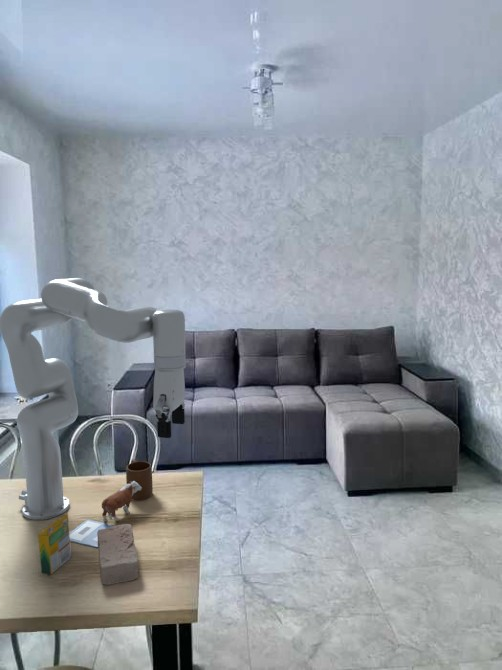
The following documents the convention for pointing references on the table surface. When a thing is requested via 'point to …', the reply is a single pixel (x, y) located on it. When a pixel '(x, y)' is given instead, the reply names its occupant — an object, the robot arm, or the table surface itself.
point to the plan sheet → (87, 533)
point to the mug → (140, 478)
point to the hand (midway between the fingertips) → (171, 430)
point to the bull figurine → (119, 500)
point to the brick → (117, 554)
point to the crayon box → (54, 545)
